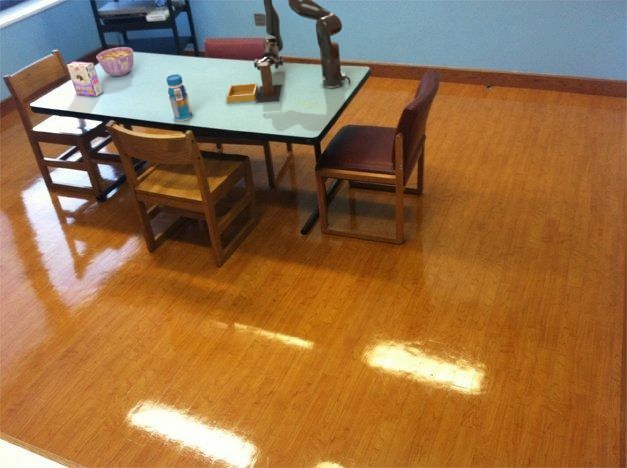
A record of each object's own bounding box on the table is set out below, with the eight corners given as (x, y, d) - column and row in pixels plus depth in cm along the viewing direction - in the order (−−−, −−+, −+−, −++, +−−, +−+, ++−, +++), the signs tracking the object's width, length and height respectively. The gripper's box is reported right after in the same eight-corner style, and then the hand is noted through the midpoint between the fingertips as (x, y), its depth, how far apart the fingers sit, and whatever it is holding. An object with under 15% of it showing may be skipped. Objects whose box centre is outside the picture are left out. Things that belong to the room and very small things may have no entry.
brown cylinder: (274, 90, 295) (270, 61, 286) (273, 95, 291) (269, 65, 282) (264, 91, 295) (259, 62, 287) (263, 96, 291) (258, 66, 282)
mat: (282, 85, 301) (281, 84, 301) (278, 102, 285) (278, 101, 285) (260, 87, 302) (260, 86, 302) (256, 104, 286) (255, 103, 286)
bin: (258, 89, 299) (257, 83, 297) (255, 101, 288) (254, 94, 286) (231, 91, 300) (230, 85, 298) (227, 103, 290) (226, 96, 288)
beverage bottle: (171, 120, 280) (160, 80, 268) (180, 112, 286) (170, 72, 274) (186, 122, 277) (176, 81, 265) (195, 114, 283) (186, 73, 271)
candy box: (103, 92, 316) (93, 62, 307) (96, 97, 312) (85, 66, 302) (83, 90, 322) (73, 60, 312) (76, 94, 318) (65, 64, 308)
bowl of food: (133, 78, 328) (127, 58, 321) (98, 82, 329) (91, 61, 323) (142, 65, 344) (136, 45, 337) (108, 68, 346) (102, 48, 339)
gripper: (255, 49, 303) (251, 61, 291) (283, 47, 302) (280, 59, 289) (257, 63, 308) (254, 76, 295) (285, 61, 307) (282, 73, 294)
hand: (267, 67), depth 292 cm, fingers open, 8 cm apart
